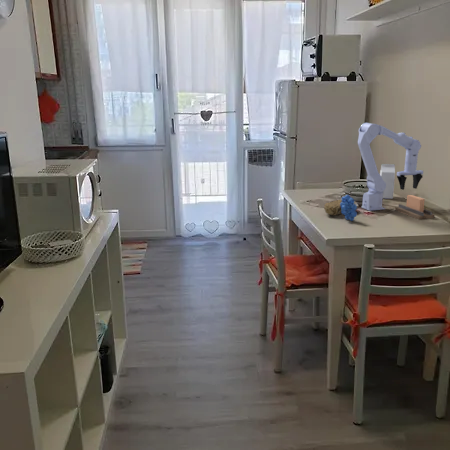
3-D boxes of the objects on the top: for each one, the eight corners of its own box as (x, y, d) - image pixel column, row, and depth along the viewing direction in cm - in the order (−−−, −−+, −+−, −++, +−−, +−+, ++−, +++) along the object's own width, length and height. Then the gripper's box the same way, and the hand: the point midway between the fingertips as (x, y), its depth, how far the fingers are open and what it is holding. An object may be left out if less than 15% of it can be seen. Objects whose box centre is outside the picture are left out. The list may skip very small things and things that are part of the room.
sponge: (345, 210, 244) (314, 207, 235) (350, 196, 241) (319, 192, 233) (360, 220, 233) (328, 217, 225) (365, 206, 230) (333, 202, 222)
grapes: (332, 217, 225) (334, 193, 222) (344, 216, 228) (345, 192, 224) (347, 224, 215) (349, 198, 212) (359, 222, 217) (361, 197, 214)
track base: (418, 219, 220) (418, 213, 220) (395, 210, 237) (395, 204, 236) (434, 217, 223) (435, 211, 222) (410, 208, 239) (410, 203, 238)
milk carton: (392, 198, 261) (395, 165, 256) (379, 198, 263) (382, 165, 257) (391, 196, 268) (393, 163, 262) (378, 195, 269) (380, 163, 264)
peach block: (418, 213, 225) (420, 199, 223) (405, 208, 234) (407, 195, 232) (423, 213, 225) (424, 199, 223) (410, 208, 234) (411, 194, 232)
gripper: (403, 164, 232) (401, 191, 236) (428, 163, 236) (425, 189, 240) (395, 162, 239) (392, 188, 243) (419, 161, 243) (416, 186, 246)
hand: (408, 188), depth 242 cm, fingers open, 7 cm apart
